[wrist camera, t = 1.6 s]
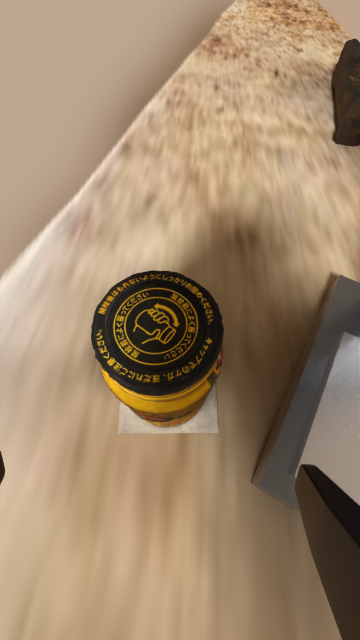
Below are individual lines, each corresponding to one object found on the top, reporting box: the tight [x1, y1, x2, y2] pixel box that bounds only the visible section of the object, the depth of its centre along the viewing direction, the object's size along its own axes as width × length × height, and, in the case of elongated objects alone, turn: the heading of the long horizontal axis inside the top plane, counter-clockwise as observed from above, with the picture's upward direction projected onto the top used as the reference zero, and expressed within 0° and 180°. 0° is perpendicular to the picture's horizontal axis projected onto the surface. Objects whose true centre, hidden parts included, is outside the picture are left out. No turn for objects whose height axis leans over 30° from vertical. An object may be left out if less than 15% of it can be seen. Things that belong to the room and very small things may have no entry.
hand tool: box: [331, 39, 360, 146], centre depth 37 cm, size 19×4×5 cm, turn 168°
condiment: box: [91, 271, 224, 433], centre depth 16 cm, size 7×8×12 cm
